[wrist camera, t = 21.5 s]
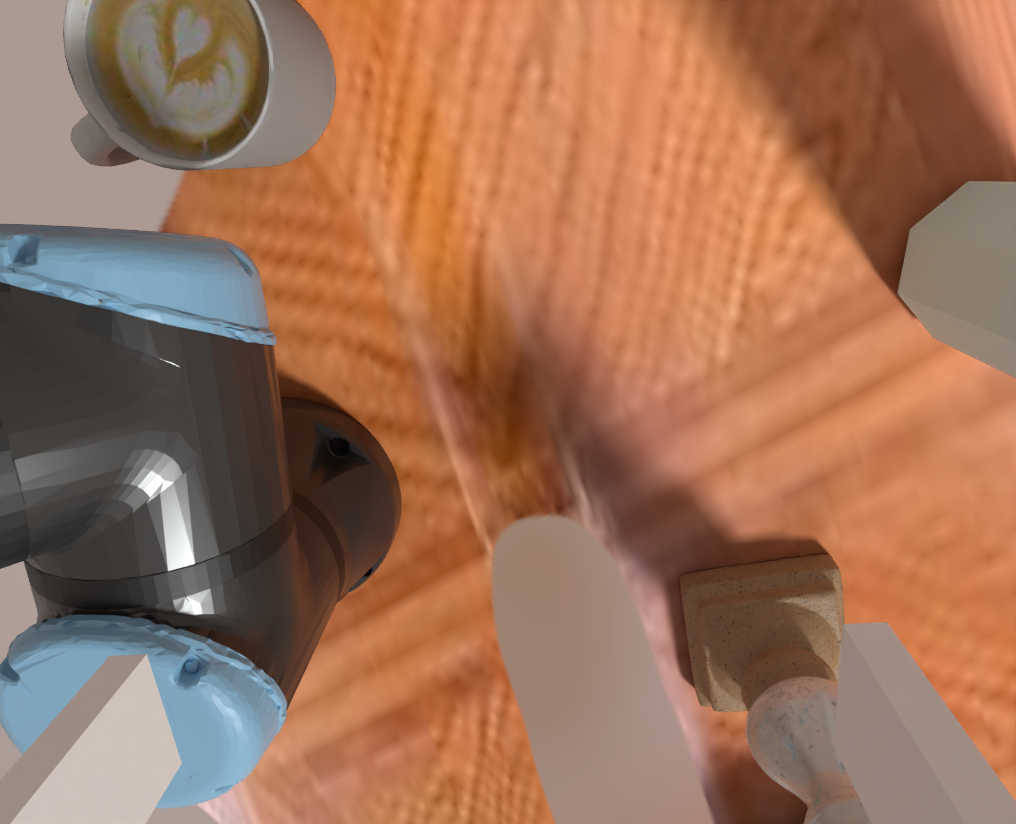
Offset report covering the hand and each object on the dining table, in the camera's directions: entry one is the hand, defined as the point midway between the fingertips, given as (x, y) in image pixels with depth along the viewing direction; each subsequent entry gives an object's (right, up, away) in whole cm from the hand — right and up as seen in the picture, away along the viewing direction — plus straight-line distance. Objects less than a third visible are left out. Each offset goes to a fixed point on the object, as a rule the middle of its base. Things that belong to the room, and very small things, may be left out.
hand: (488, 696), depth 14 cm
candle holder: (+19, -10, +40) cm, 45 cm away
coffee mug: (-16, +25, +29) cm, 42 cm away
